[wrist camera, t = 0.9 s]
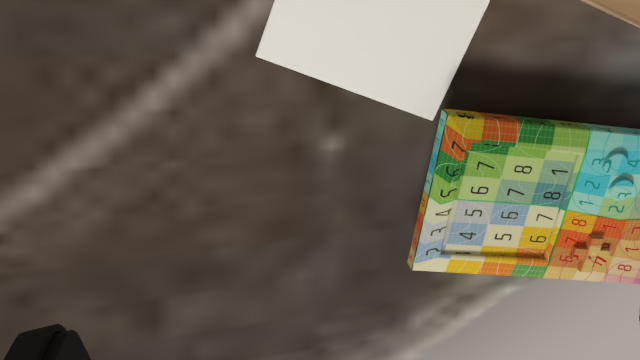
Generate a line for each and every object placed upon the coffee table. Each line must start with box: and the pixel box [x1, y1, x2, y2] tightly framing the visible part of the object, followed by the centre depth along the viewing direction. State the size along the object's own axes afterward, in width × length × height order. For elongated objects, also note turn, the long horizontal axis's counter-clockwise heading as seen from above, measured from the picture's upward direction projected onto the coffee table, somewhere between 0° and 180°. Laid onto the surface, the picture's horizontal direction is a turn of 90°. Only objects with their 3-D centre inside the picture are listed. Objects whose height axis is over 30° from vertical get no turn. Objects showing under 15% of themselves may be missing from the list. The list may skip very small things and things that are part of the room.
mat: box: [256, 0, 490, 121], centre depth 37 cm, size 10×13×1 cm
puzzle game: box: [407, 109, 640, 284], centre depth 41 cm, size 12×5×20 cm
